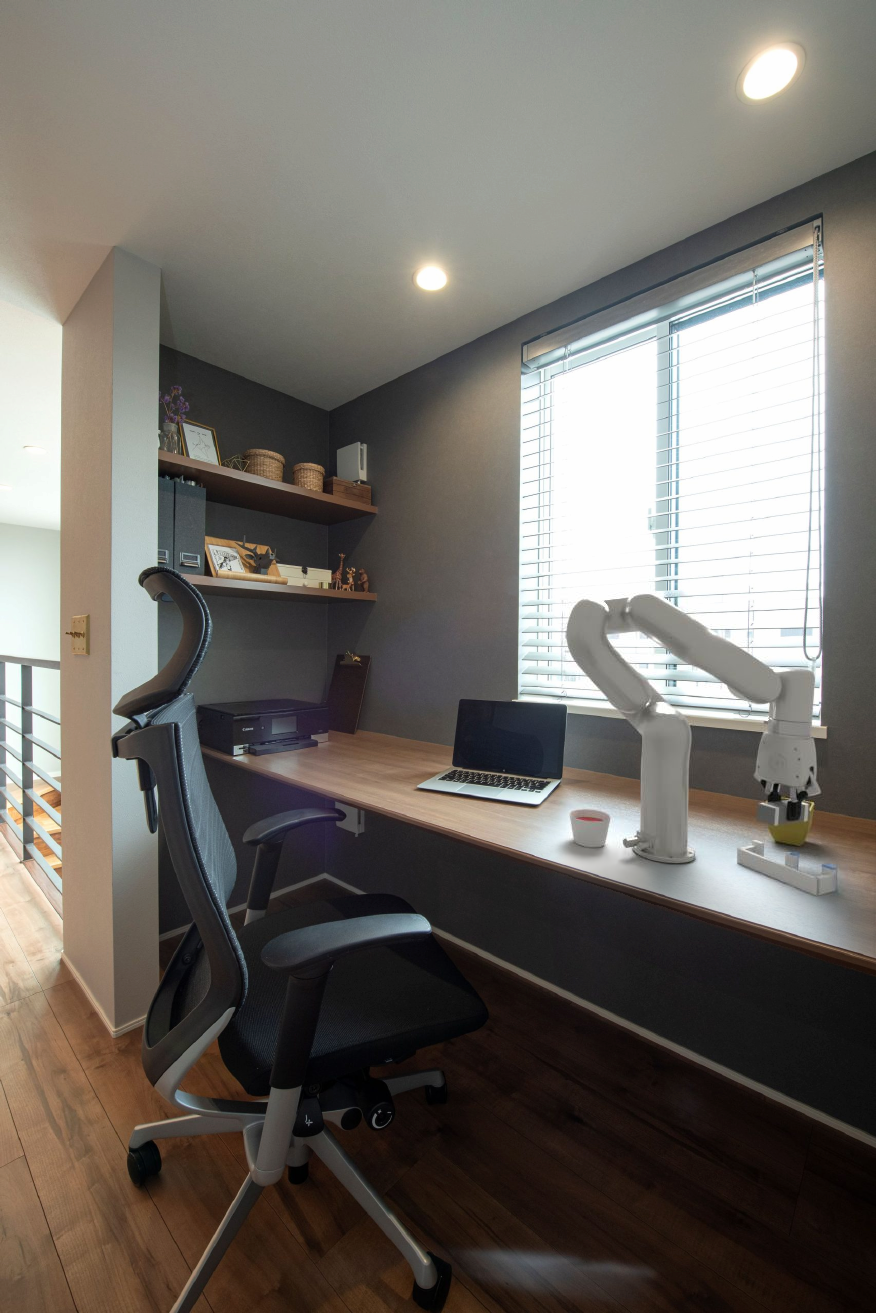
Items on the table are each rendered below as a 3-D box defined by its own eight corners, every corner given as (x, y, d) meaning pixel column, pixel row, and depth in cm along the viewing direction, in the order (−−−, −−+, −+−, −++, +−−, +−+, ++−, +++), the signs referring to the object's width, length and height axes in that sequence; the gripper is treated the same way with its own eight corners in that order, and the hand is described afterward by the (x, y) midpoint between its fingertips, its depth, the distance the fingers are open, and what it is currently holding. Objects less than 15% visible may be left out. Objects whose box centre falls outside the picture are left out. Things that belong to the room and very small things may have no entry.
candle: (615, 840, 125) (615, 813, 125) (603, 853, 118) (603, 824, 118) (577, 832, 131) (577, 806, 130) (563, 844, 123) (563, 816, 123)
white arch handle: (816, 895, 98) (816, 871, 98) (736, 862, 113) (737, 841, 113) (836, 890, 101) (837, 866, 101) (756, 858, 115) (756, 837, 115)
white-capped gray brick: (772, 825, 109) (774, 808, 109) (756, 820, 112) (757, 803, 112) (808, 820, 113) (810, 804, 113) (792, 815, 116) (793, 799, 116)
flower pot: (770, 831, 132) (770, 794, 131) (813, 840, 126) (814, 801, 126) (763, 842, 125) (764, 803, 125) (809, 851, 119) (810, 810, 119)
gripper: (740, 722, 118) (734, 806, 119) (818, 736, 103) (812, 832, 103) (763, 721, 121) (758, 803, 122) (843, 735, 106) (837, 828, 106)
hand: (783, 815), depth 112 cm, fingers closed on white-capped gray brick, 3 cm apart
